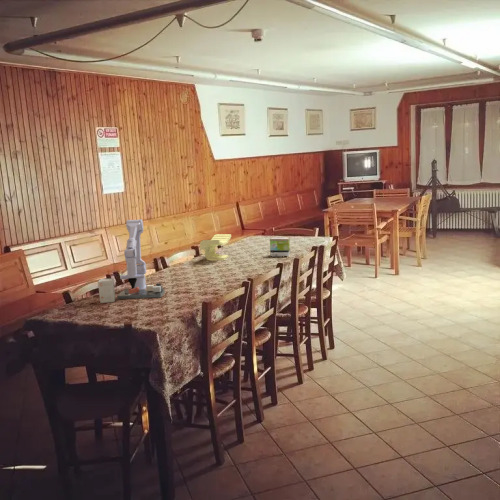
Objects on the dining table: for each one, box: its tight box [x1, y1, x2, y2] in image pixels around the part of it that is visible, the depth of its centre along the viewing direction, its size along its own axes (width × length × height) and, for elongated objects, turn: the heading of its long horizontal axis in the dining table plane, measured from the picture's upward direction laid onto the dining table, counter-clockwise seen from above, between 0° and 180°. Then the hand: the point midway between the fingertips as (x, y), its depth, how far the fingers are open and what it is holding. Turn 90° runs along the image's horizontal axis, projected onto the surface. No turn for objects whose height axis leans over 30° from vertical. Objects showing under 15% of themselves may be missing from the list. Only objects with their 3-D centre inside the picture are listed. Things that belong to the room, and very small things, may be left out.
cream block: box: [145, 284, 155, 291], centre depth 325 cm, size 3×4×3 cm
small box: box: [97, 278, 117, 304], centre depth 312 cm, size 8×6×13 cm
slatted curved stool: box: [199, 233, 232, 261], centre depth 429 cm, size 30×16×18 cm, turn 164°
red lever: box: [123, 287, 139, 295], centre depth 319 cm, size 9×2×3 cm, turn 127°
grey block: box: [153, 285, 162, 292], centre depth 321 cm, size 3×4×3 cm
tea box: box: [269, 236, 291, 257], centre depth 431 cm, size 15×10×15 cm, turn 81°
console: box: [116, 285, 166, 300], centre depth 322 cm, size 14×26×4 cm, turn 89°
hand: (133, 290), depth 322 cm, fingers closed
